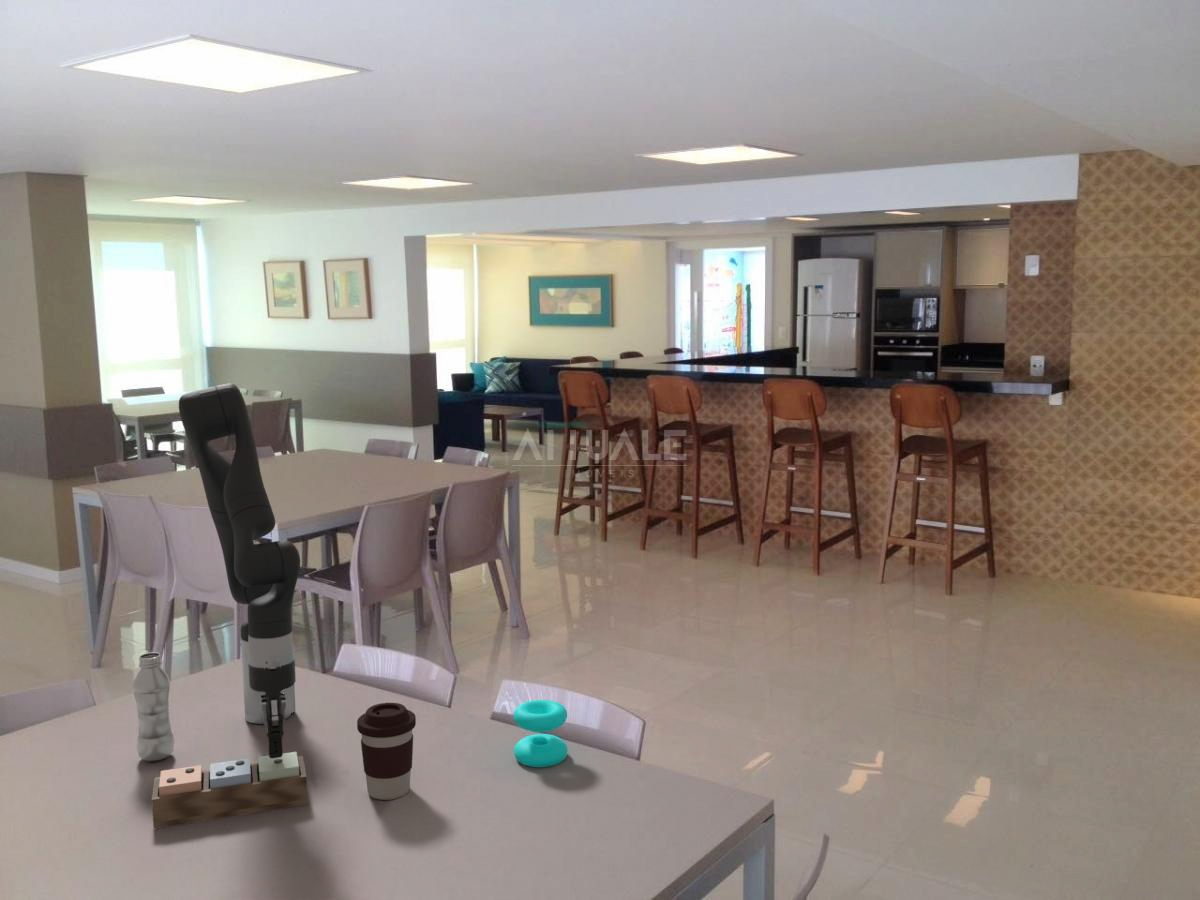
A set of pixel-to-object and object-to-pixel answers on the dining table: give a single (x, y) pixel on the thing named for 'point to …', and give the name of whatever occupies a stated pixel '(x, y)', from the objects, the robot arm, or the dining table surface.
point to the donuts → (540, 746)
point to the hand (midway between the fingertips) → (275, 756)
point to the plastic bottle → (153, 709)
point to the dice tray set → (229, 798)
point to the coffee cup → (387, 749)
